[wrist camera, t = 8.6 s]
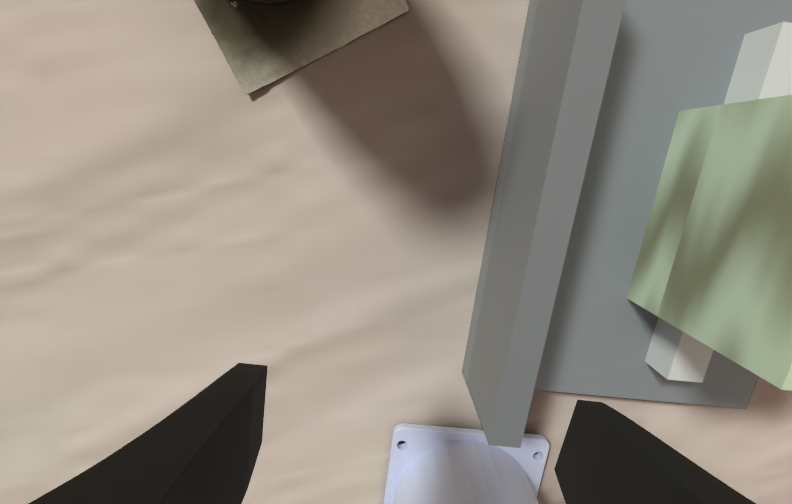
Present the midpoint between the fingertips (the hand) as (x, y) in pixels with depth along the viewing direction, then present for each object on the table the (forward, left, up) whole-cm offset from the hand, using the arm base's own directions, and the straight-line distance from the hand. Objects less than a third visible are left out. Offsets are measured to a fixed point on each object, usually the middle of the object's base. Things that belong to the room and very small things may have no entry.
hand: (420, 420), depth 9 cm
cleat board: (+5, -11, -9) cm, 15 cm away
